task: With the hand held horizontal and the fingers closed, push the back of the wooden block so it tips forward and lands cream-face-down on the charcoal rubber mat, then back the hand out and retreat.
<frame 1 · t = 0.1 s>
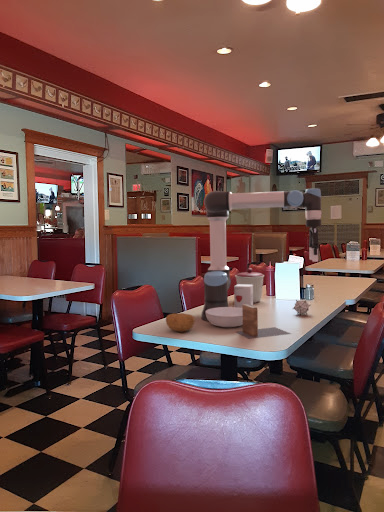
hand: (313, 260, 209), 28 cm above the table, tool pointing down, fingers open, 13 cm apart
serving bowl: (228, 326, 190), on the table, touching arm
canister: (250, 302, 254), on the table
supplement box: (243, 313, 220), on the table
rubber mat: (262, 333, 174), on the table
game die: (301, 314, 211), on the table
wooden block: (249, 334, 172), resting on rubber mat
potato: (180, 331, 181), on the table
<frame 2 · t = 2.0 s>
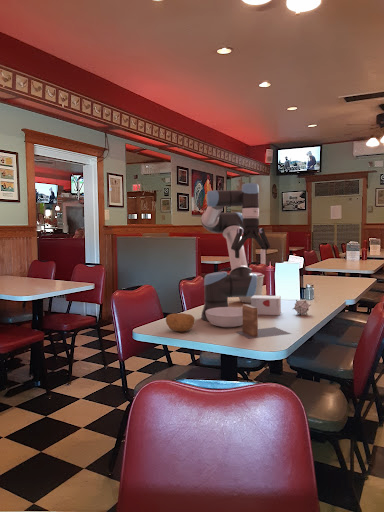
hand: (251, 264, 186), 29 cm above the table, tool pointing down, fingers open, 13 cm apart
supplement box: (251, 304, 218), point 4 cm above the table
everything else where it was.
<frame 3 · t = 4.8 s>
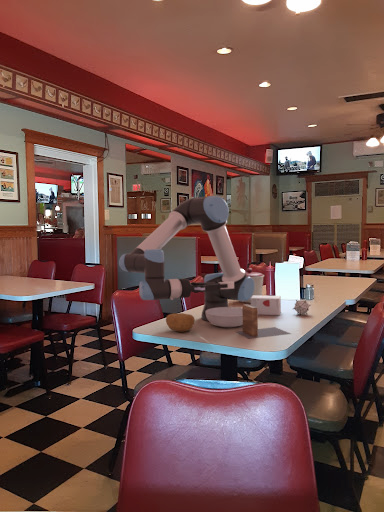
hand: (233, 285, 168), 22 cm above the table, tool horizontal, fingers closed
nothing on the table moved.
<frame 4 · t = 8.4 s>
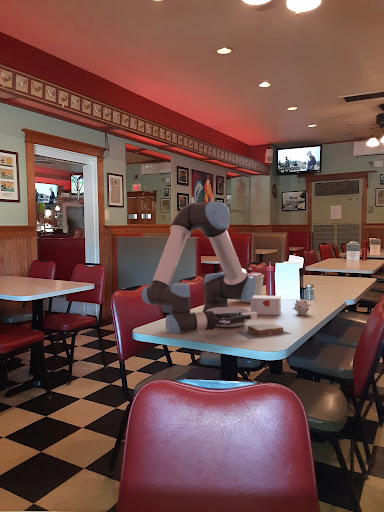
hand: (256, 315, 172), 8 cm above the table, tool horizontal, fingers closed
wooden block: (252, 330, 172), point 2 cm above the table, tilted 90°, touching rubber mat
everything else where it was.
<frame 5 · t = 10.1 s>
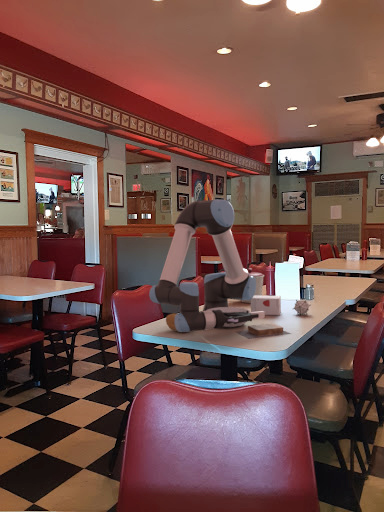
hand: (263, 314, 173), 8 cm above the table, tool horizontal, fingers closed
nothing on the table moved.
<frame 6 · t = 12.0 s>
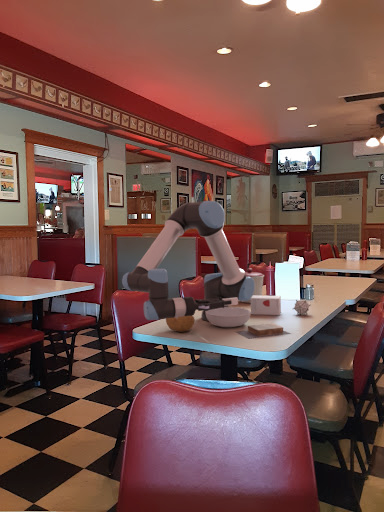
hand: (237, 300, 168), 15 cm above the table, tool horizontal, fingers closed
nothing on the table moved.
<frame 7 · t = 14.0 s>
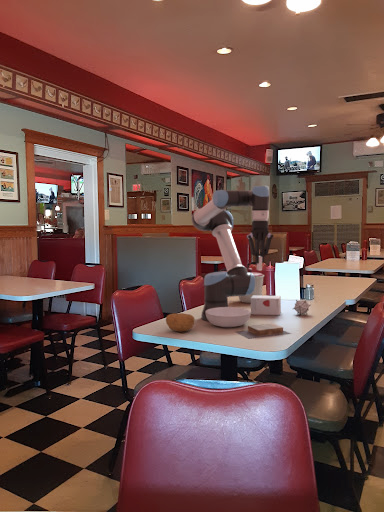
hand: (259, 269, 191), 25 cm above the table, tool pointing down, fingers closed
nothing on the table moved.
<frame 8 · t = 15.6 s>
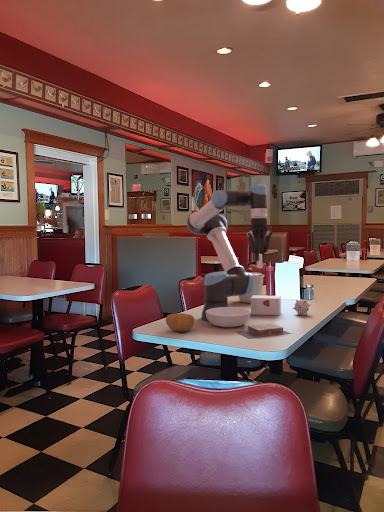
hand: (259, 267, 193), 26 cm above the table, tool pointing down, fingers closed
nothing on the table moved.
at the end: wooden block tilted 90°; wooden block 4.6 cm from the rubber mat (horizontally); wooden block point 1.8 cm above the table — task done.
